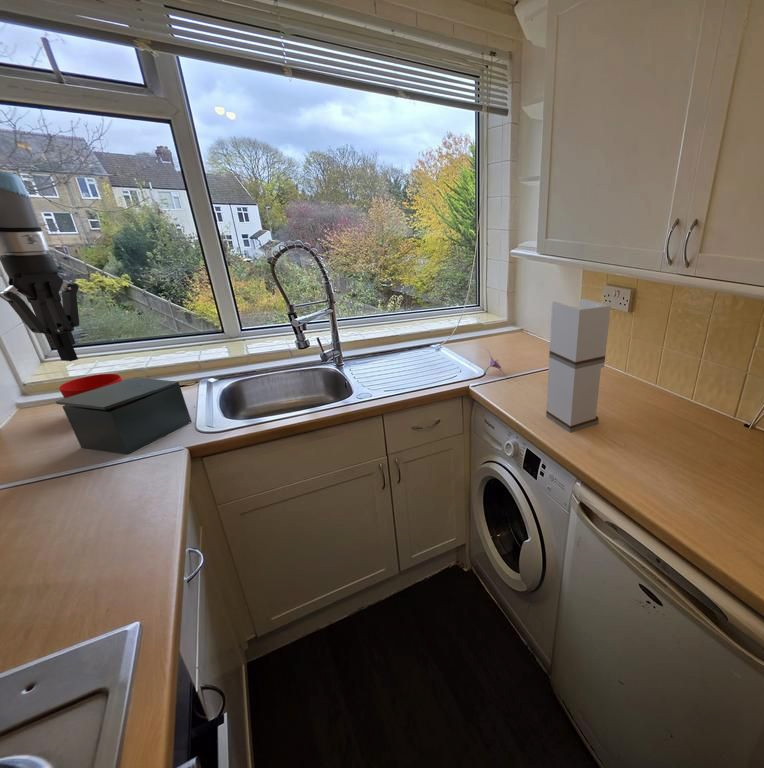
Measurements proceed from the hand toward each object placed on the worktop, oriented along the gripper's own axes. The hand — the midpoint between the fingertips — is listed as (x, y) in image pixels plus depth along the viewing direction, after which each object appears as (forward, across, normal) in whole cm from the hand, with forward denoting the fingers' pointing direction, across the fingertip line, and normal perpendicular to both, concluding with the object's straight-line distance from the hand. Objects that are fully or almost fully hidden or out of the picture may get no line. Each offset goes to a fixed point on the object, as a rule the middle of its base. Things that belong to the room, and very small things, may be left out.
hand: (69, 359), depth 94 cm
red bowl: (+24, +14, +22) cm, 36 cm away
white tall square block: (+24, +42, -115) cm, 125 cm away
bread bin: (+24, +8, 0) cm, 25 cm away
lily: (+24, +74, -84) cm, 114 cm away
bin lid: (+12, +7, 0) cm, 14 cm away
